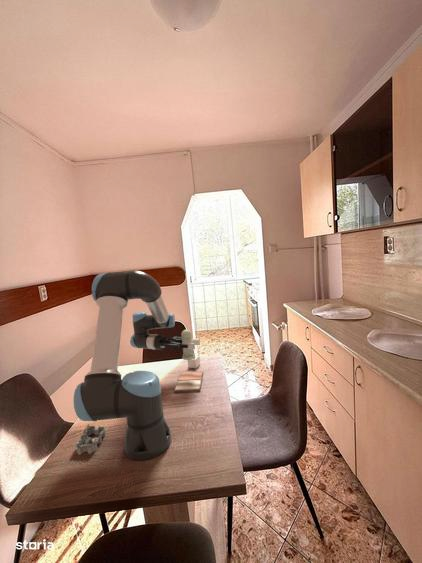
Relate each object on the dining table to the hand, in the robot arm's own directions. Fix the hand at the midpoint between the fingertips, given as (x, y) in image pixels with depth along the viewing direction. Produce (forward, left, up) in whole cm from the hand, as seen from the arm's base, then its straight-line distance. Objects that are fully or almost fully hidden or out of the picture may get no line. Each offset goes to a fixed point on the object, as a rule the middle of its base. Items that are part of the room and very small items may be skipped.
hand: (197, 344), depth 128 cm
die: (+8, +15, -18) cm, 25 cm away
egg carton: (-54, -6, -18) cm, 57 cm away
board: (-5, +2, -18) cm, 19 cm away
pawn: (-2, +5, -7) cm, 9 cm away
